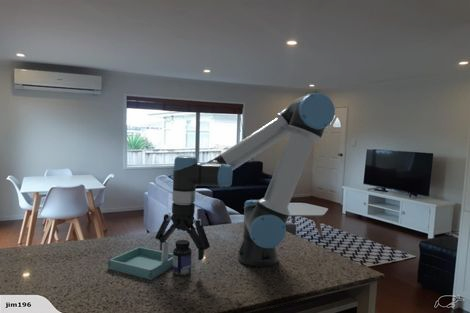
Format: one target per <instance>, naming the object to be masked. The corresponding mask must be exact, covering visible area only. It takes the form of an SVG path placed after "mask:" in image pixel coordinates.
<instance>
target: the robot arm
mask: <svg viewBox="0 0 470 313" xmlns="http://www.w3.org/2000/svg"><path fill="white" fill-rule="evenodd" d="M335 109H336V108H335V105H334V103H333V101H332V99H331V98H330V97H328V96H327V95H326V94H323V93H321V92H310V93H308V94H307V93H306V95H304V96H300V97H298V98H296V99H295V100H294V101H293V102H291V103H290V104H289V105H287V107H285V108H284V109H283V110H281V111H280V112H278V113H277V114H276V117H275V119H273V120H271V121H269V122H268V123H266V124H265V125H263V126H261V127H260V128H258V129H257V130H256V131H254V132H253V133H251V134H250V135H248V136H247V137H245V138H243V139H242V140H240V141H239V142H238V143H236V144H234V145H233V146H231V147H230V148H228V149H227V150H225V151H224V152H222V153H221V154H219V155H218V156H216V157H214V158H213V159H210V160H208V161H207V162H205V163H201V162H198V158H197V157H196V156H192V155H191V156H190V155H179V156H176V157H174V163H173V176H172V179H173V180H172V182H173V183H172V197H171V198H172V204H171V213H170V212H169V213H166V214H164V215H163V221H162V223H161V225H160V226H159V228H158V231H157V233H156V235H155V240H158V241H159V242H160V243H159V244H160V245H159V251H162V257H161V261H162V262H164V261H165V260H167V259H168V253H169V240H168V239H169V237H170V236H171V235H172V234H173V233H174V232H175V230H178V231H183V232H186V233H187V234H188V235H189V236H190V238H191V240H192V241H193V243H194V245H195V247H196V250H195V260H194V261H195V262H194V270H195V271H199V269H201V268H202V260H204V257H205V250H206V251H207V249H209V248H210V247H211V245H210V242H209V239H208V237H207V234H206V230H205V229H204V224H203V218H199V219H198V218H197V219H195V214H196V213H195V211H196V210H195V209H196V207H195V206H196V204H195V202H196V192H197V190H196V187H197V186H201V187H202V186H205V187H206V186H207V187H219V188H223V187H224V188H225V187H226V188H227V187H231V186H232V184H233V171H234V170H236V169H237V168H239V167H241V166H242V165H243V164H245V163H246V162H249V160H251V159H253V158H255V156H257V155H259V154H260V153H262V152H263V151H265V150H266V149H268V148H270V147H271V146H272V145H274V144H276V143H278V142H279V141H280V140H282V139H284V138H285V137H287V136H288V137H287V140H286V143H285V145H284V148H283V150H282V152H281V155H280V156H279V160H278V162H277V164H276V167H275V170H274V171H273V172H274V173H273V175H272V178H271V180H270V181H269V185H268V187H267V190H266V192H265V194H264V197H262V198H261V199H249V200H248V199H247V200H246V201H245V202H244V206H243V209H244V210H243V211H244V212H243V213H244V214H243V231H242V232H243V236H242V240H241V241H242V242H241V244H240V245H239V246H240V247H239V248H238V249H239V250H238V253H237V260H238V261H239V263H242V264H244V265H245V266H250V267H259V268H263V267H270V266H273V265H276V264H277V262H278V252H277V248H276V247H277V246H279V245H280V244H282V242H283V241H284V239H285V238H286V236H287V234H286V233H287V227H286V226H287V225H286V224H287V222H288V220H289V219H288V218H289V216H290V211H289V208H288V207H289V205H290V202H291V200H292V197H293V196H294V193H295V190H296V187H297V185H298V183H299V180H300V178H301V175H302V173H303V170H304V168H305V166H306V162H308V159H309V156H310V153H311V151H312V149H313V146H314V144H315V142H316V141H318V140H321V139H322V136H323V134H324V132H325V129H326V128H327V127H329V126H330V124H331V123H332V122H333V120H334V119H335V114H336V110H335ZM170 222H172V224H171V225H170V226H169V224H170ZM168 226H169V228H168Z"/></svg>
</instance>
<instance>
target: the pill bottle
mask: <svg viewBox="0 0 470 313" xmlns="http://www.w3.org/2000/svg"><path fill="white" fill-rule="evenodd" d="M172 254H173V267H172V274H173V276H176V277H181V278H182V277H183V278H184V277H188V276H190V275H191V273H192V249H191V247H190V240H187V239H179V240H176V241H175V248H174V249H173V252H172Z"/></svg>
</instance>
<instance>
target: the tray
mask: <svg viewBox="0 0 470 313" xmlns="http://www.w3.org/2000/svg"><path fill="white" fill-rule="evenodd" d="M161 257H162V251H160V250H158V249H157V250H156V249H152V248H147V247H143V246H138V247H135V248H133V249H131V250H128V251H126V252H123V253H121V254H119V255H117V256H115V257H112V258H109V259H108V265H107V266H108V267H107V268H108V270H112V271H115V272H119V273H123V274H128V275H132V276H135V277H139V278H142V279H147V280H150V281H151V280H153V279H154V278H156V277H158V276H160V275H161V274H163V273H165V272H166V271H168V270H170V269H172V268H173V252H172V253H171V252H168V259H167V260H165V261H164V262H162V261H161Z"/></svg>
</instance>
